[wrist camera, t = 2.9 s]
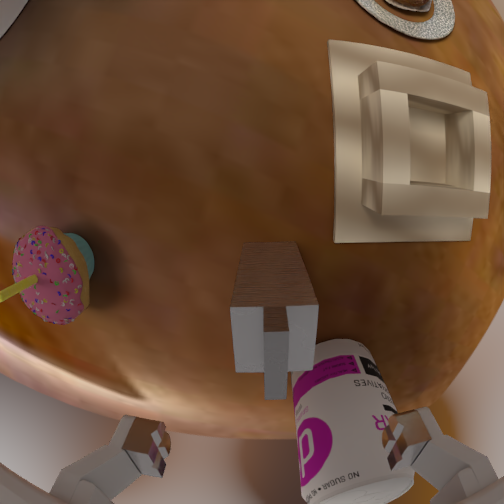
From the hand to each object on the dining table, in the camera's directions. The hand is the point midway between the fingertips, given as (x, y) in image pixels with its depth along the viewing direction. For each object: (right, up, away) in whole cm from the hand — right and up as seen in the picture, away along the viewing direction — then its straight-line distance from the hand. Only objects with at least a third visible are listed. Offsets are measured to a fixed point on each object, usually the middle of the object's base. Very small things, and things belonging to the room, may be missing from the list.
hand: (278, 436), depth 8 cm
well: (+12, +15, +11) cm, 22 cm away
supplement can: (+7, -5, +18) cm, 20 cm away
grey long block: (0, +5, +14) cm, 15 cm away
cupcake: (-18, +6, +15) cm, 24 cm away
